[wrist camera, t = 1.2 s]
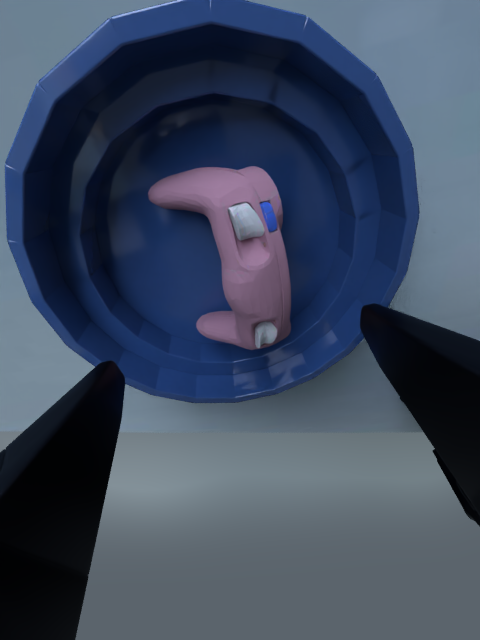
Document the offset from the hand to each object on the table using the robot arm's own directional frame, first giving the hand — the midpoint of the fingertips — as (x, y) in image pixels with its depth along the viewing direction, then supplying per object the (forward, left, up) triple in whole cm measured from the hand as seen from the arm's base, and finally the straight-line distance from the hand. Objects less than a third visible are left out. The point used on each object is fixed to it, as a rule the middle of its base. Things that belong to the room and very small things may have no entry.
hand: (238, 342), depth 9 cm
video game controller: (0, 0, -8) cm, 9 cm away
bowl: (0, 0, -9) cm, 9 cm away
